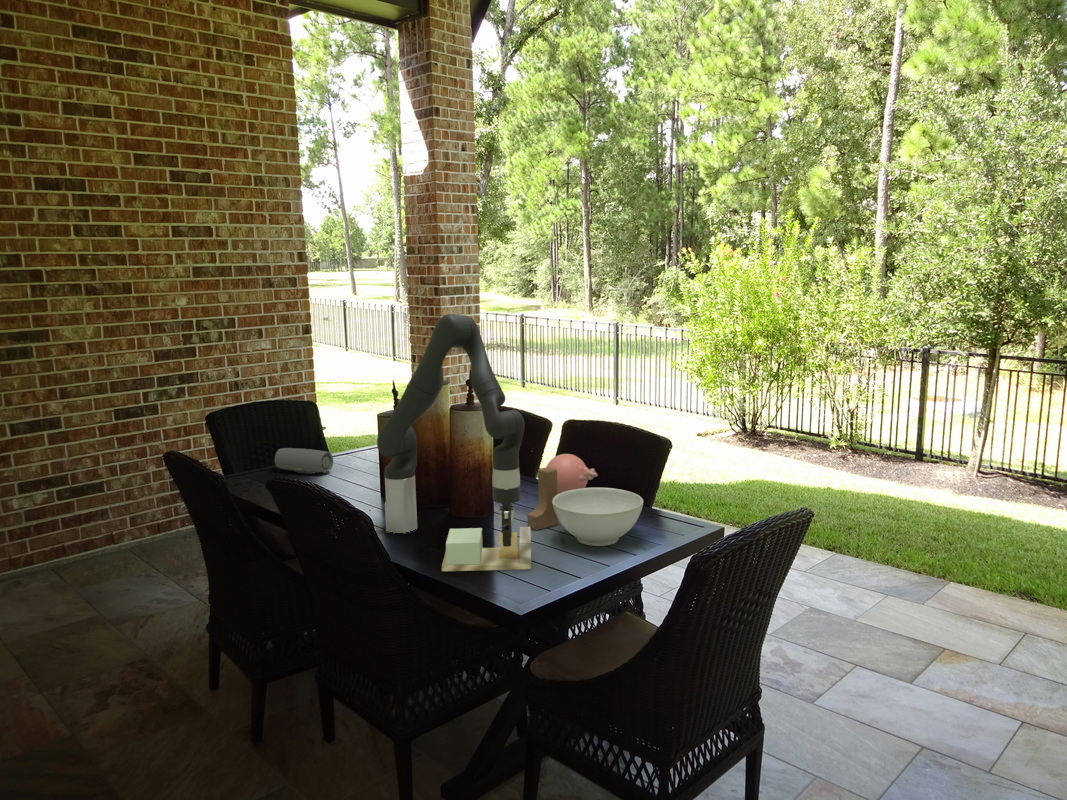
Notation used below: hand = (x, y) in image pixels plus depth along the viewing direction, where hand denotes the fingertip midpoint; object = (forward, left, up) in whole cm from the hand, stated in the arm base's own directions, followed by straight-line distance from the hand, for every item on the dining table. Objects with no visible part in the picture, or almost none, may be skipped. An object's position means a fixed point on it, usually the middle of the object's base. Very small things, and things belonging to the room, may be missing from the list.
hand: (507, 540), depth 214 cm
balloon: (+21, +59, -6) cm, 63 cm away
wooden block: (+10, +29, -6) cm, 31 cm away
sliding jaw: (-12, 0, -4) cm, 13 cm away
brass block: (0, 0, -4) cm, 4 cm away
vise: (-6, 0, -6) cm, 8 cm away
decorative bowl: (+26, +16, -6) cm, 31 cm away
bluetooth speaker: (-85, +103, -6) cm, 133 cm away
